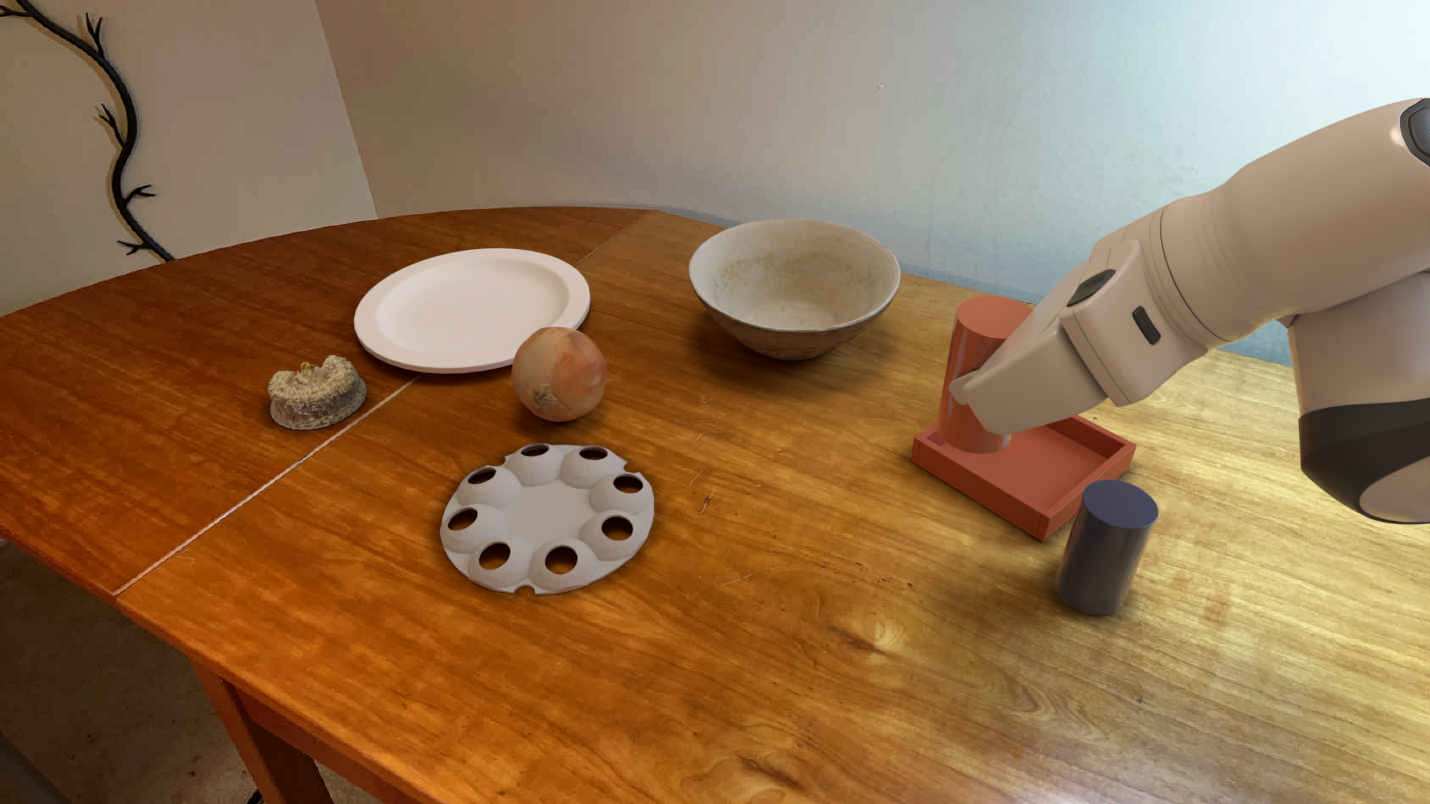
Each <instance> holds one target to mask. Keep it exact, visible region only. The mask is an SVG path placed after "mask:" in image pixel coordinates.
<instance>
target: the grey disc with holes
mask: <svg viewBox="0 0 1430 804" xmlns="http://www.w3.org/2000/svg"><path fill="white" fill-rule="evenodd" d="M539 449H547V451H546V452H544V453H543V454H540V455H535V456H527V455H524V454H522V453H525V452H529V451H534V450H539ZM590 451H591V452H592V451H597V452H601V453H605V454H607V455H606V456H605V457H604V458H601V459H587V458H584V457H583V456H581V454H580V453H584V452H590ZM503 458H504V460H505V461H504V463H502V464H501V465H498V466H495V465H489V464H487V465H484V466H483V467H480V468H477V469H476V470H473V471H472V472H470V473H469V474H467V475H466V476H465V477H464V479H462V481H461V482H460V483H459V485H458V487H457V489H456V491H455V492H454V493H453V495H452V496H451V498H450V500H449V501H448V504H447V505H446V507H445V510H444V512H443V516H442V519H441V526H440V528H439V535H440V540H441V545H442V548H443V551H444V552H445V554H446V555H447V558H448V559H449V561H450V562H451V563H452V565H453V566H454V567H455V568H456V569H457V570H458V572H459V573H461V574H462V575H463V576H464V577H466V578H467V579H468V580H469V581H471V582H473V583H475V584H476V585H478V586H481V587H483V588H486V589H488V590H491V591H493V592H494V591H495V592H499V593H506V594H510V595H511V594H512V595H514V594H515V592H516V590H518V589H520V588H522V587H528V588H531V589H533V590H534V595H535V596H542V595H556V594H562V593H566V592H567V593H568V592H570V591H574V590H577V589H581V588H583V587H586V586H588V585H590V584H592V583H595V582H597V581H600V580H601V579H604V578H605V577H607V576H609V575H610V574H611V573H614V572H615V571H617V570H618V569H620V568H621V567H622V566H623V565H625V564H626V563H627V562H628V561H630V560H631V559H632V558H633V557H634V556H635V555H636V554H637V553H638V552H639V550H640V549H641V548H642V546H644V544H645V543H646V540H647V539H648V537H649V534H650V530H651V529H652V526H653V521H654V517H655V498H654V492H653V488H652V486H651V484H650V482H649V481H648V480H647V479H646V478H645V477H644V476H643V474H642V473H641V472H640V471H637V472H629V471H626V470H625V469H624V468H625V466H626V465H627V464H628V461H626V460H625V459H623V458H622V457H620V456H619V455H616V453H614V452H613V451H612V450H611V449H608V448H606V447H604V446H600V445H595V444H593V445H591V444H589V445H583V446H582V445H574V444H549V443H542V442H536V443H530V444H526V445H524V446H521V448H519V449H517V450H516V451H515V452H513V453H510V454H508V455H506V456H504V457H503ZM489 472H495V474H494V476H493V477H492V478H490V479H488V480H486V481H485V482H481V483H474V484H473V483H470V482H469V481H470V480H471V479H472V478H474V477H476V476H478V475H481V474H485V473H489ZM623 477H624V478H633V479H636V480H638V481H639V482H640V483H641V484H642V488H641V489H640V490H639V491H638V492H634V493H632V492H631V493H630V492H629V493H628V492H624V491H622V490H619V489H617V487H616V486H615V485H614V481H615V480H616V479H617V478H623ZM468 510H474V511H475V512H476V513H477V517H476V519H475V520H474V522H473V523H471V524H470V525H469V526H467V527H466V528H462V529H459V530H458V529H457V530H452V529H450V528H449V523H450V521H451V520H452V519H453V518H454V517H456V516H458V515H460V514H461V513H464V512H467V511H468ZM615 517H616V518H622V519H625V520H626V521H627V522H629V523H630V525H631V526H632V533H631V535H630V536H629V537H628V538H626V539H623V540H614V539H611V538H609V537H608V536H607V535H605V533H604V532H603V530H602V526H603V524H604V522H605V521H606V520H608V519H611V518H615ZM496 544H504V545H506V546H507V547H508V548H509V550H510V553H509V557H508V559H507V560H506V562H505V563H504V564H502V565H501V566H500V567H497V568H494V569H486V568H485V567H482V566H481V564H480V557H481V554H482V553H483V552H484V551H485V550H486V549H487V548H488V547H490V546H492V545H496ZM560 547H561V548H562V547H563V548H564V547H565V548H569V549H571V550H572V551H574V553H575V554H576V556H577V561H576V564H575V566H574V568H572V569H571V570H570V571H568V572H566V573H563V574H558V573H555V572H552V571H551V570H549V569H548V568H547V566H546V558H547V557H548V554H549V553H551V552H552V550H554V549H557V548H560Z"/></svg>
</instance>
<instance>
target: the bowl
mask: <svg viewBox="0 0 1430 804" xmlns="http://www.w3.org/2000/svg"><path fill="white" fill-rule="evenodd" d="M900 267H901V266H900V263H899V261H898V258H897V257H896V255H895V254H893V252H891V250H890V248H889V247H887V246H885V245H884V244H883V243H881V241H879V240H877V239H876V238H874V237H873V236H871V235H869V234H866V233H865V232H863V231H860V230H859V229H857V228H854V227H853V226H850V225H846V224H843V223H837V222H832V221H825V220H820V219H812V218H776V219H766V220H760V221H752V222H745V223H741V224H738V225H735V226H732V227H728V228H726V229H723V230H721V231H720V232H718V233H716V234H714V235H713V236H710V237H709V238H708V239H706V240H705V241H704V242H702V243H701V244H700V245H699V246H698V247H697V249H695V251H694V252H693V254H692V256H691V258H690V259H689V262H688V278H689V281H690V284H691V287H692V289H693V291H694V293H695V296H696V297H697V299H698V301H699V302H700V303H701V305H702V306H703V307H704V309H705V310H706V311H707V312H708V313H709V315H710V316H711V317H712V318H713V320H715V322H716V323H717V324H718V325H719V326H720V327H721V328H723V329H724V331H726V332H727V333H728V334H729V335H730V336H732V337H733V338H734V339H735V340H737V341H738V342H739V343H740V344H742V345H744V346H745V347H747V348H749V349H751V350H752V351H755V352H756V353H758V354H759V355H763V356H765V357H769V358H773V359H777V360H781V361H792V362H793V361H795V362H796V361H804V360H810V359H814V358H818V357H820V356H823V355H825V354H827V353H830V352H832V351H834V350H836V349H838V348H840V347H842V346H843V345H845V344H846V343H848V342H849V341H851V340H853V339H854V338H856V337H857V336H858V335H860V334H861V333H863V332H864V331H865V330H867V328H869V327H870V326H871V325H872V324H874V322H876V321H877V319H878V318H880V317H881V316H882V315H883V314H884V312H885V311H886V310H887V309H888V308H889V307H890V305H891V303H892V302H893V300H894V299H895V297H896V296H897V294H898V291H899V289H900V286H901V279H902V277H901V276H902V274H901V273H902V272H901V268H900Z"/></svg>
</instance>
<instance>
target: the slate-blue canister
mask: <svg viewBox="0 0 1430 804" xmlns="http://www.w3.org/2000/svg"><path fill="white" fill-rule="evenodd" d="M1159 513H1160V512H1159V507H1158V504H1157V502H1156V501H1155V499H1154V498H1153V497H1152V496H1151V495H1150V494H1149V493H1148V492H1146V491H1145V490H1144V489H1142V488H1140V487H1138V486H1136V485H1135V484H1132V483H1130V482H1127V481H1124V480H1118V479H1116V480H1111V479H1106V480H1098V481H1095V482H1093V483H1091V484H1089V485H1088V486H1087V487H1086V488H1085V489H1084V491H1083V493H1082V496H1081V499H1080V502H1079V505H1078V509H1077V512H1076V514H1075V515H1074V518H1073V522H1072V524H1071V528H1070V530H1069V533H1068V537H1067V539H1066V542H1065V546H1064V549H1063V552H1062V556H1061V558H1060V562H1059V565H1058V568H1057V571H1056V574H1055V578H1054V586H1055V587H1054V588H1055V590H1056V592H1057V594H1058V595H1059V597H1060V598H1061V600H1062V601H1064V602H1065V603H1066V604H1067V605H1068V606H1070V607H1071V608H1072V609H1074V610H1077V611H1078V612H1081V613H1082V614H1083V613H1084V614H1086V615H1091V616H1108V615H1112V614H1115V613H1117V612H1118V611H1119V610H1121V609H1122V607H1123V606H1124V604H1125V602H1126V599H1127V596H1128V594H1129V591H1130V589H1131V586H1132V584H1133V581H1134V579H1135V576H1136V574H1137V572H1138V569H1139V567H1140V564H1141V561H1142V559H1143V556H1144V554H1145V551H1146V548H1147V546H1148V544H1149V542H1150V539H1151V536H1152V534H1153V531H1154V529H1155V526H1156V523H1157V522H1158V519H1159Z"/></svg>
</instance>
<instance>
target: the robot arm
mask: <svg viewBox="0 0 1430 804" xmlns="http://www.w3.org/2000/svg"><path fill="white" fill-rule="evenodd" d="M1274 321H1276V322H1278V323H1279V324H1281V325H1282V326H1283V327H1284V328H1285V329H1287V332H1286V334H1287V335H1286V337H1287V343H1288V350H1289V355H1290V361H1291V367H1292V373H1293V379H1294V385H1295V392H1296V397H1297V398H1296V399H1297V405H1298V411H1299V417H1298V420H1297V422H1298V423H1297V424H1298V442H1299V462H1300V464H1299V465H1300V470H1301V472H1302V474H1303V475H1304V476H1306V478H1308V479H1309V480H1310V481H1311V482H1312V483H1314V485H1316V486H1317V487H1318V488H1319V489H1321V490H1322V491H1323V492H1324V493H1326V494H1327V495H1328V496H1330V497H1331V498H1333V500H1335V501H1337V502H1338V503H1340V504H1342V505H1343V506H1344V507H1346V508H1348V509H1350V510H1352V511H1353V512H1354V513H1355V512H1356V513H1357V514H1360V515H1361V516H1363V517H1365V518H1367V519H1370V520H1372V521H1375V522H1380V523H1384V524H1391V525H1392V524H1393V525H1403V526H1407V525H1408V526H1409V525H1411V526H1412V525H1430V97H1414V98H1408V99H1405V100H1404V99H1403V100H1400V101H1395V102H1391V103H1388V104H1384V105H1380V106H1377V107H1374V108H1370V109H1368V110H1365V111H1362V112H1359V113H1356V114H1353V115H1351V116H1348V117H1346V118H1343V119H1341V120H1338V121H1335V122H1333V123H1331V124H1328V125H1326V126H1323V127H1321V128H1319V129H1317V130H1314V131H1312V132H1310V133H1308V134H1306V135H1303V136H1301V137H1298V138H1297V139H1295V140H1292V141H1289V143H1286V144H1284V145H1281V146H1279V147H1278V148H1276V149H1273V150H1272V151H1269V152H1268V153H1266V154H1264V155H1262V156H1260V157H1258V158H1256V159H1254V160H1251V161H1250V162H1248V163H1246V164H1245V165H1243V166H1242V167H1241V168H1239V169H1238V170H1237V171H1236V172H1235V173H1233V175H1231V176H1230V177H1229V178H1228V179H1227V180H1226V181H1224V182H1223V183H1221V184H1219V185H1218V186H1216V187H1214V188H1211V189H1210V190H1207V191H1204V192H1202V193H1198V194H1194V195H1188V196H1183V197H1180V198H1178V199H1175V200H1173V201H1171V202H1169V203H1167V204H1165V205H1163V206H1161V207H1159V208H1157V209H1154V210H1153V211H1151V212H1149V213H1147V214H1145V215H1143V216H1141V217H1139V218H1137V219H1135V220H1133V221H1131V222H1129V223H1128V224H1125V225H1123V226H1122V227H1119V228H1117V229H1115V230H1113V231H1111V232H1109V233H1107V234H1106V235H1103V236H1101V237H1100V238H1099V239H1097V240H1096V242H1095V243H1093V246H1092V248H1091V251H1090V255H1089V257H1088V258H1086V259H1084V260H1082V261H1081V262H1079V263H1078V264H1075V265H1074V266H1073V267H1071V268H1070V269H1069V270H1068V271H1067V272H1066V273H1065V274H1064V275H1063V276H1062V278H1060V279H1059V281H1058V282H1057V283H1056V284H1055V285H1054V286H1053V288H1051V290H1050V291H1049V292H1048V293H1047V294H1046V295H1045V296H1044V297H1043V298H1042V299H1041V300H1040V302H1039V303H1038V304H1037V305H1036V306H1035V307H1034V309H1033V311H1032V312H1031V313H1030V314H1029V315H1028V316H1027V317H1026V318H1025V319H1024V321H1023V322H1022V323H1021V324H1020V325H1019V326H1018V327H1017V328H1016V329H1015V330H1014V332H1013V333H1012V334H1011V335H1010V336H1009V337H1008V338H1007V339H1006V340H1005V341H1004V343H1003V344H1002V345H1001V346H1000V347H999V348H998V349H997V350H996V351H995V352H994V354H993V355H992V356H991V357H990V358H989V359H988V360H987V361H986V362H985V363H984V365H983V366H982V367H981V368H980V369H979V370H977V371H976V369H975V368H973V369H970V370H968V371H966V372H964V373H961V374H959V375H958V376H957V377H956V378H955V379H954V380H953V381H952V382H951V383H950V385H949V391H950V392H951V394H952V395H953V397H954V398H955V400H956V401H957V402H958V403H959V404H961V405H966V404H968V405H969V407H970V408H971V410H972V411H973V413H974V415H975V416H976V417H977V419H978V420H979V422H980V423H981V425H982V426H983V427H984V429H985V430H986V431H987V432H989V433H992V434H996V435H1009V434H1014V433H1018V432H1022V431H1025V430H1029V429H1033V428H1036V427H1040V426H1043V425H1047V424H1050V423H1053V422H1056V421H1060V420H1063V419H1066V418H1069V417H1072V416H1075V415H1081V414H1083V413H1086V412H1087V411H1090V410H1092V409H1094V408H1096V407H1097V406H1099V405H1101V404H1102V403H1104V402H1106V401H1107V400H1108V399H1109V400H1110V401H1111V402H1112V404H1113V405H1114V406H1115V407H1116V408H1124V407H1127V406H1130V405H1134V404H1136V403H1139V402H1141V401H1144V400H1146V399H1147V398H1148V397H1150V396H1152V394H1153V393H1155V392H1156V391H1157V390H1158V389H1159V388H1160V387H1161V386H1162V385H1163V384H1165V383H1166V382H1167V381H1168V380H1170V379H1171V378H1172V377H1173V376H1174V375H1176V373H1178V372H1179V371H1180V370H1181V369H1183V368H1184V367H1186V366H1188V365H1189V364H1191V363H1193V362H1194V361H1196V360H1199V359H1202V358H1203V357H1205V356H1207V355H1208V353H1209V352H1211V351H1213V350H1216V349H1219V348H1222V347H1224V346H1227V345H1230V344H1233V343H1236V342H1239V341H1241V340H1244V339H1246V338H1248V337H1250V336H1251V335H1253V334H1254V333H1255V332H1257V331H1258V330H1260V329H1261V328H1263V327H1265V325H1267V324H1270V323H1271V322H1274Z"/></svg>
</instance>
